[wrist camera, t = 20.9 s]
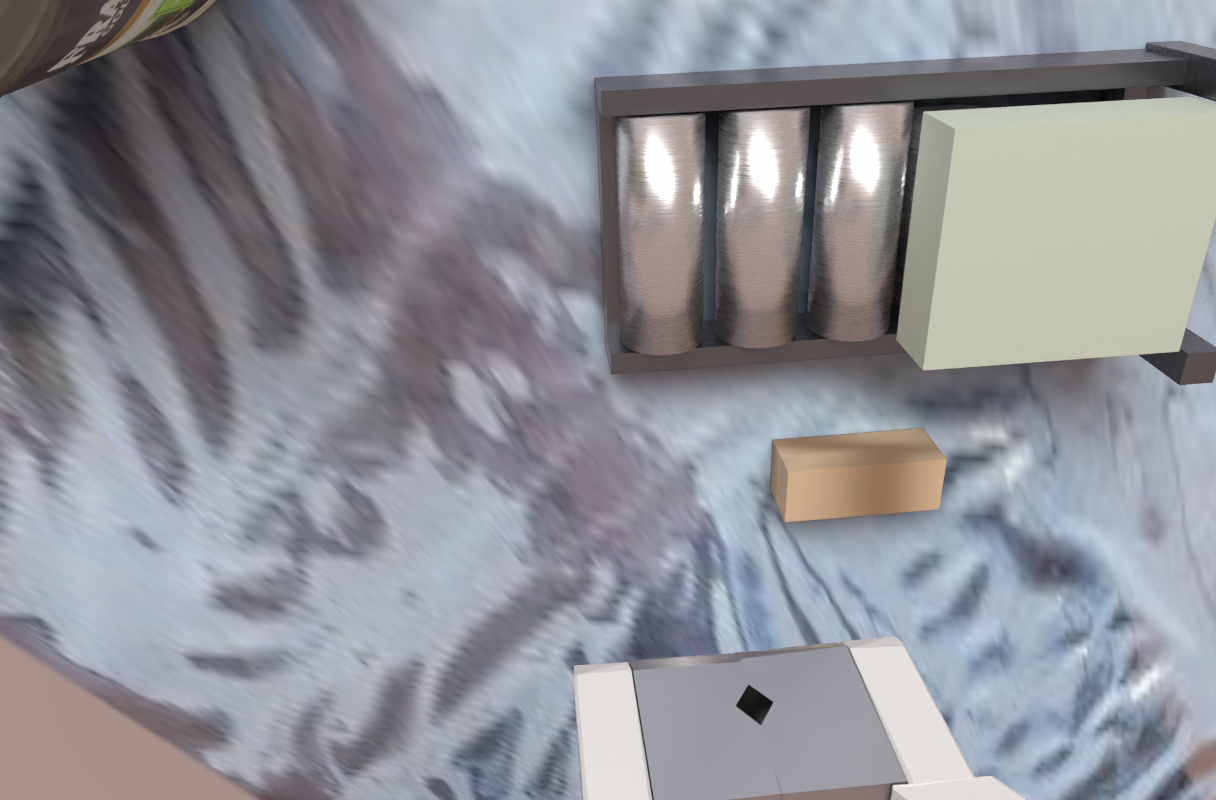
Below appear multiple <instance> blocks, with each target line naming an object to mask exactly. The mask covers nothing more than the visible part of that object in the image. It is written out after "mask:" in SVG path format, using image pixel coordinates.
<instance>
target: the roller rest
mask: <svg viewBox="0 0 1216 800" xmlns="http://www.w3.org/2000/svg"><path fill="white" fill-rule="evenodd" d="M946 461H947V459H946V458H945V456H944V455H943V454H942V452H941V451H940V450H939V448H938V447H937V446H936V445H935V443H934V442H933V441H932V439H931V438H930V437H929V435H928V434H927V433H926V432H925V430H924V429H923V428H917V429H904V430H892V431H879V432H866V433H853V434H841V435H828V436H815V437H802V438H790V439H777V440H773V442H772V460H771V479H770V489H771V492H772V494H773V496H774V498H775V501H776V503H777V505H778V508H779V510H780V512H781V514H782V517H783V519H784V521H785V522H794V521H805V520H817V519H829V518H841V517H853V516H865V515H877V514H889V513H900V512H912V511H924V510H936V509H939V506H940V500H941V493H942V487H943V480H944V474H945V468H946Z"/></svg>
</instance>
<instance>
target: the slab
mask: <svg viewBox="0 0 1216 800" xmlns="http://www.w3.org/2000/svg"><path fill="white" fill-rule="evenodd" d="M1215 219H1216V103H1213V102H1209V101H1206V100H1203V99H1199V98H1196V97H1193V96H1192V97H1174V98H1156V99H1138V100H1121V101H1103V102H1085V103H1067V104H1050V105H1032V106H1014V107H996V108H978V109H961V110H943V111H925V112H923V117H922V126H921V134H920V143H919V151H918V160H917V168H916V177H915V185H914V194H913V202H912V210H911V219H910V227H909V236H908V244H907V253H906V261H905V270H904V278H903V287H902V295H901V304H900V312H899V320H898V329H897V337H896V340H897V341H898V342H899V344H900V345H901V346H902V347H903V348H904V349H905V351H906V352H907V353H908V354H909V355H910V356H911V358H912V359H913V360H914V361H915V362H916V363H917V364H918V366H919V367H920V368H921V369H922V370H923V371H924V370H938V369H951V368H965V367H978V366H992V365H1005V364H1018V363H1032V362H1045V361H1059V360H1072V359H1086V358H1099V357H1113V356H1126V355H1139V354H1153V353H1166V352H1179V350H1180V347H1181V343H1182V340H1183V336H1184V332H1185V329H1186V325H1187V321H1188V318H1189V314H1190V310H1191V307H1192V303H1193V299H1194V296H1195V292H1196V288H1197V285H1198V281H1199V277H1200V274H1201V270H1202V266H1203V263H1204V259H1205V255H1206V252H1207V248H1208V244H1209V241H1210V237H1211V233H1212V230H1213V226H1214V223H1215Z"/></svg>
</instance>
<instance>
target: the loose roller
mask: <svg viewBox="0 0 1216 800" xmlns="http://www.w3.org/2000/svg"><path fill="white" fill-rule="evenodd" d="M978 108H989V107H984V106H977V105H966V104H951V105H935V106H921V107H917V108H914V110H913V118H912V127H911V136H910V145H909V154H908V162H907V171H906V180H905V189H904V198H903V207H902V215H901V224H900V233H899V242H898V251H897V259H896V268H895V277H894V286H893V295H892V303H891V305H892V306H893V307H894V308H895V309H896V310H898V311H900V304H901V295H902V287H903V278H904V270H905V261H906V253H907V244H908V236H909V227H910V219H911V210H912V202H913V194H914V185H915V177H916V168H917V160H918V151H919V143H920V134H921V126H922V117H923V112H925V111H943V110H961V109H978Z"/></svg>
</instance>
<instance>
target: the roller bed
mask: <svg viewBox="0 0 1216 800" xmlns="http://www.w3.org/2000/svg"><path fill="white" fill-rule="evenodd" d="M1152 86H1166V87H1170V88H1173V89H1176V90H1180V91H1183V92H1186V93H1189V94H1193V95H1196V96H1199V97H1203V98H1206V99H1209V100H1213V101H1216V49H1213V48H1208V47H1204V46H1200V45H1195V44H1191V43H1186V42H1182V41H1172V42H1152V43H1147V46H1146V49H1133V50H1114V51H1095V52H1076V53H1057V54H1038V55H1019V56H1000V57H981V58H962V59H943V60H924V61H905V62H886V63H867V64H848V65H829V66H810V67H791V68H772V69H753V70H734V71H715V72H696V73H677V74H658V75H639V76H620V77H601V78H595V98H596V123H597V148H598V173H599V199H600V224H601V249H602V274H603V299H604V325H605V347H606V352H607V356H608V361H609V366H610V370H611V374H621V373H635V372H648V371H662V370H676V369H689V368H703V367H717V366H731V365H744V364H758V363H772V362H785V361H799V360H813V359H826V358H840V357H854V356H868V355H881V354H895V353H907V352H906V351H905V349H904V348H903V347H902V346H901V345H900V344H899V342H898V341H897V340H896V337H897V329H898V320H899V312H900V311H898V310H896V309H895V308H894V307H893V308H891V303H892V295H893V286H894V277H895V268H896V259H897V251H898V242H899V233H900V224H901V215H902V207H903V198H904V189H905V180H906V171H907V162H908V154H909V145H910V136H911V127H912V118H913V110H914V100H917V99H935V98H953V97H971V96H989V95H1007V94H1025V93H1043V92H1061V91H1079V90H1097V89H1105V92H1104V97H1103V101H1121V100H1138V99H1146V94H1147V90H1148V87H1152ZM811 105H821V119H820V133H819V148H818V162H817V177H816V191H815V206H814V220H813V235H812V249H811V264H810V279H809V293H808V308H807V314H797V312H798V297H799V281H800V265H801V249H802V234H803V218H804V202H805V187H806V171H807V155H808V140H809V124H810V108H811ZM718 110H719V140H718V191H717V241H716V292H715V320H707V321H703V275H704V200H705V124H706V111H718ZM1139 355H1140V356H1141V357H1142V358H1144V359H1145V360H1146V361H1148V362H1149V363H1150V364H1152V365H1153V366H1154V367H1156V368H1157V369H1158V370H1160V371H1161V372H1163V373H1164V374H1165V375H1167V376H1168V377H1169V378H1171V379H1172V380H1173V381H1175V382H1176V383H1177V384H1179V385H1186V384H1199V383H1212V382H1213V379H1214V376H1215V372H1216V347H1215V346H1213V345H1212V344H1210V343H1208V342H1207V341H1205V340H1204V339H1202V338H1201V337H1199V336H1198V335H1196V334H1195V333H1193V332H1191V331H1190V330H1188V329H1187V328H1186V329H1185V332H1184V336H1183V340H1182V343H1181V347H1180V350H1179V352H1166V353H1153V354H1139Z"/></svg>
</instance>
